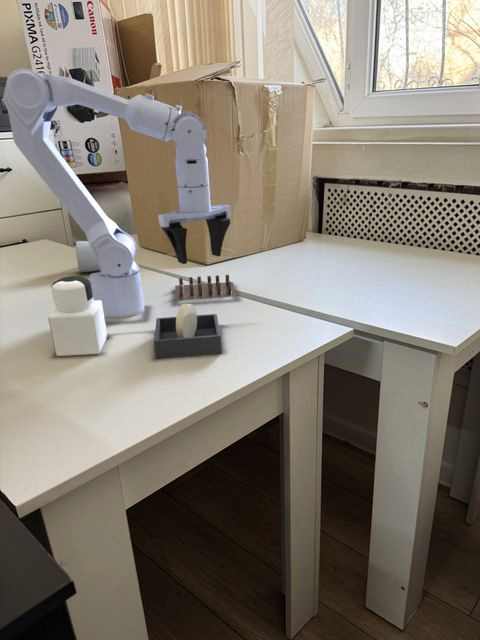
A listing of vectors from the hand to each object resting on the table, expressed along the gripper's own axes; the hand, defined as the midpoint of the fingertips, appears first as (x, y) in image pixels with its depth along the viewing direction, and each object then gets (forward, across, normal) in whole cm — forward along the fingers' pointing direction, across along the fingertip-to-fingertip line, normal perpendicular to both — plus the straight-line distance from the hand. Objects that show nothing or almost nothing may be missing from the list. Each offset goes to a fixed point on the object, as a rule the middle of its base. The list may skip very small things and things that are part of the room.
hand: (199, 259), depth 98 cm
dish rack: (+10, -5, -8) cm, 14 cm away
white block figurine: (+10, +26, +2) cm, 28 cm away
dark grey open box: (+10, +11, +12) cm, 19 cm away
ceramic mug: (+7, +5, -43) cm, 44 cm away
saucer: (+10, +11, +12) cm, 19 cm away
